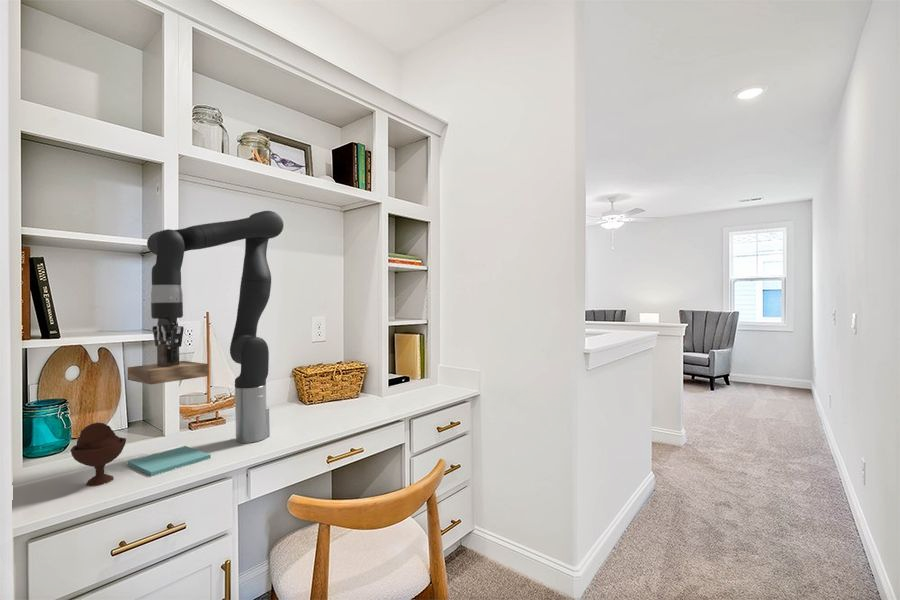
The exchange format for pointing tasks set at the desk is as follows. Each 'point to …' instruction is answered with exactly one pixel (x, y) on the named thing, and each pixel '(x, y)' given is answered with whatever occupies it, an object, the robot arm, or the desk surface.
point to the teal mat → (168, 460)
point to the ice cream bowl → (98, 450)
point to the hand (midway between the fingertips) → (168, 361)
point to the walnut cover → (167, 369)
